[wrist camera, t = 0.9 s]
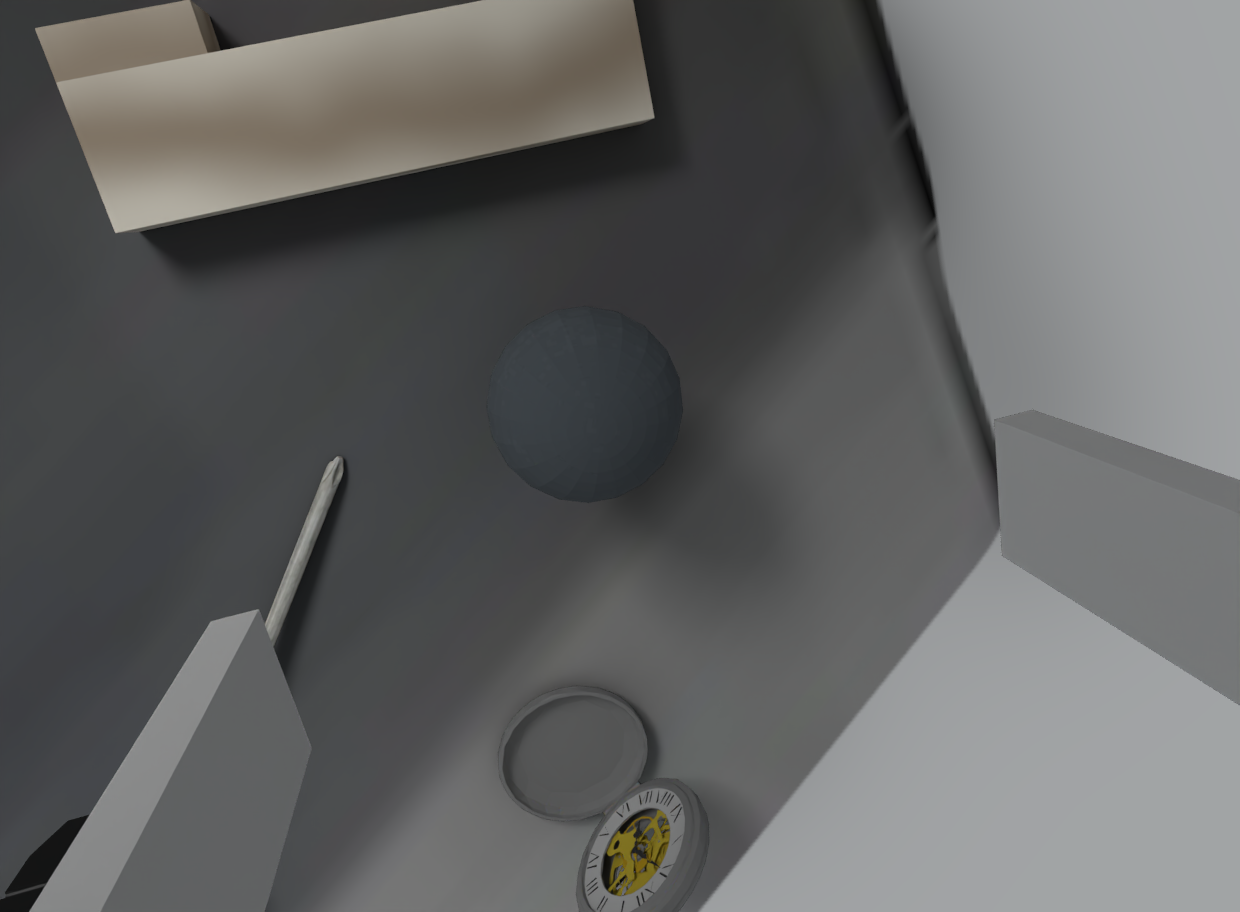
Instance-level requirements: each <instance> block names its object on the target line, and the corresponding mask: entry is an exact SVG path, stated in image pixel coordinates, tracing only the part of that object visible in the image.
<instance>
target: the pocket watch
mask: <svg viewBox="0 0 1240 912" xmlns="http://www.w3.org/2000/svg"><path fill="white" fill-rule="evenodd" d="M647 752H648V746H647V737H646V734H645V731H644V728H643V725H642V722H641V719H640V718H639V717H638V715H637V714H636V712H635V710H634V709H633V708H632V707H631V706H630V705H629V704H628V703H627V702H626V701H625V700H623V699H622V698H620V697H619V696H617V695H616V694H614V693H611V692H608V691H606V690H603V689H600V688H595V687H584V686H573V687H566V688H560V689H556V690H553V691H551V692H548V693H545V694H543V695H541V696H539V697H538V698H536V699H534V700H532V701H531V702H529V703H528V704H527V705H526V706H524V707H523V708H522V709H521V710H520V711H519V712H518V713H517V714H516V715H515V716H514V718H513V719H512V720H511V721H510V723H509V725H508V727H507V728H506V730H505V732H504V734H503V736H502V740H501V744H500V747H499V751H498V769H499V776H500V779H501V782H502V784H503V787H504V789H505V790H506V792H507V794H508V795H509V797H510V798H511V799H512V800H513V801H514V802H515V803H516V804H517V805H519V806H520V807H521V808H522V809H523V810H525V811H528V812H530V813H532V814H534V815H536V816H538V817H541V818H543V819H547V820H555V821H572V820H582V819H585V818H588V817H591V816H594V815H596V814H599V813H602V812H603V814H604V815H605V816H604V817H603V819H602V820H601V822H600V823H599V824H598V826H597V827H596V829H595V831H594V832H593V834H592V836H591V838H590V841H589V843H588V845H587V847H586V849H585V851H584V854H583V857H582V860H581V864H580V868H579V871H578V879H577V889H576V897H577V902H578V907H579V912H678V911H679V910H680V909H681V908H682V906H683V905H684V903H685V902H686V901H687V899H688V898H689V896H690V895H691V893H692V891H693V889H694V887H695V886H696V884H697V882H698V880H699V878H700V875H701V872H702V869H703V867H704V864H705V861H706V857H707V851H708V846H709V823H708V819H707V814H706V812H705V810H704V808H703V806H702V804H701V802H700V800H699V798H698V796H697V795H696V794H695V793H694V792H693V791H692V790H691V789H690V788H689V787H688V786H686V785H685V784H683V783H682V782H681V781H679V780H678V779H669V778H657V779H654V780H650V781H647V782H645V783H643V784H641V783H640V782H639V779H640V777H641V775H642V772H643V769H644V767H645V764H646V761H647ZM660 820H665V821H664V823H663V825H662V826H661V828H659V826H658V821H660ZM666 821H668V823H669V824H668V825H665V823H666ZM664 825H665V826H664ZM646 826H648V827H647V828H646V829H645V831H644V832H643V833H642V830H643V829H644V828H645V827H646ZM651 828H653V829H654V831H655V832H654V835H653V837H652V838H651V840H650V842H649V841H648V838H647V836H646V835H644V834H645V833H646V832H647V831H648V830H649V829H651ZM664 829H665V831H664V832H663V833H662V834H661V831H663V830H664ZM668 829H670V830H668ZM641 833H642V834H641ZM643 835H644V836H643ZM646 843H647V844H648V847H647V848H646V849H645V850H644V847H645V845H646ZM630 852H631V853H630ZM623 855H624V858H623ZM621 865H623V867H622V868H624V871H623V872H620V871H621V870H622V868H621V870H620V871H619V872H620V873H619V875H620V876H618V878H617V870H618V867H619V866H621ZM634 871H636V872H635V873H634ZM627 878H628V879H627ZM626 879H627V882H626V884H625V881H626ZM623 880H624V882H623V884H621V882H622V881H623ZM629 881H630V882H629ZM632 881H633V883H632V885H631V887H630V888H629V889H628V884H630V883H631V882H632ZM619 884H620V885H622V886H623V887H622V886H621V887H622V888H619V889H618V890H617V889H616V887H617V886H618V885H619ZM624 884H625V885H626V887H627V889H626V891H627V892H626V893H625V894H624V895H623V896H621V894H622V890H623V888H624V886H625V885H624Z"/></svg>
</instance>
